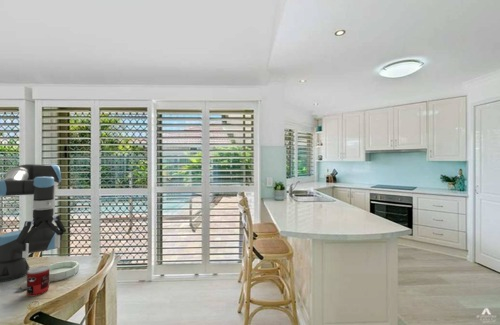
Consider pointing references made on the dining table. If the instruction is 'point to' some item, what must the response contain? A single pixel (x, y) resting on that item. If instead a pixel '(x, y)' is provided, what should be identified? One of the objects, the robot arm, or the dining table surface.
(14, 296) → the dining table surface
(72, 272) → the bowl
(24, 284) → the pebble
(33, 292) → the canned food
